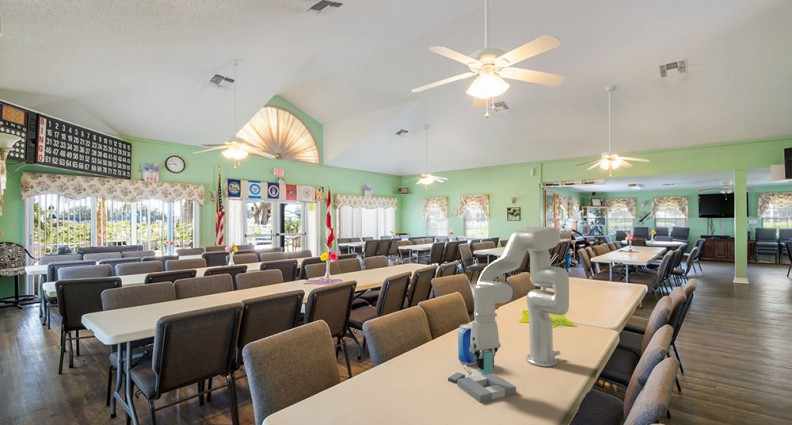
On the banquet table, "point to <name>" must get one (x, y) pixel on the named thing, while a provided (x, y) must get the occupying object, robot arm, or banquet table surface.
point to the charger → (487, 362)
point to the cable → (468, 370)
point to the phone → (456, 377)
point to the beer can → (465, 345)
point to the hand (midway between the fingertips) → (485, 366)
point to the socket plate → (481, 394)
